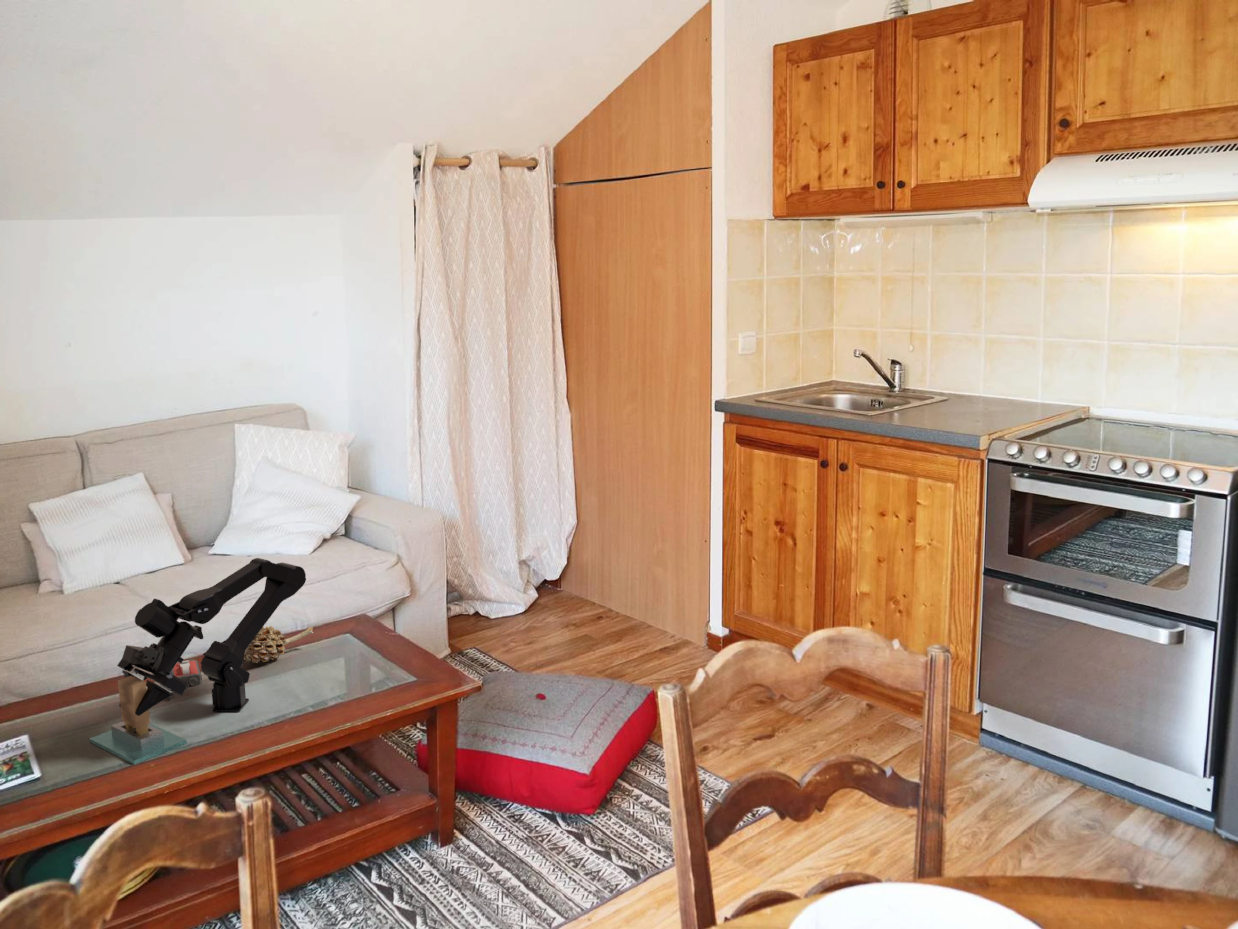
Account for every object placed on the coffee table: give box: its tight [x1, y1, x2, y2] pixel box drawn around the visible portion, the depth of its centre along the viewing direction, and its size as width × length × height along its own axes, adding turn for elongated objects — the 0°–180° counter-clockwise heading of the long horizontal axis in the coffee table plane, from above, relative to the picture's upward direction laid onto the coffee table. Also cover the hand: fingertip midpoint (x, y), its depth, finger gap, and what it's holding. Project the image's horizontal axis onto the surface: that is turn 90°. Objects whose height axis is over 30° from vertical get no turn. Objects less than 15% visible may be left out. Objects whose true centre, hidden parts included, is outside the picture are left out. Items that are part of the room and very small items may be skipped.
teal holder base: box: [89, 721, 188, 765], centre depth 233 cm, size 18×12×3 cm, turn 53°
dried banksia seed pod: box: [244, 625, 314, 664], centre depth 281 cm, size 22×10×10 cm, turn 140°
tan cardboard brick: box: [117, 676, 151, 735], centre depth 232 cm, size 6×3×13 cm, turn 53°
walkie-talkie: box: [167, 658, 203, 699], centre depth 265 cm, size 9×4×20 cm
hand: (128, 711), depth 230 cm, fingers closed on tan cardboard brick, 6 cm apart
